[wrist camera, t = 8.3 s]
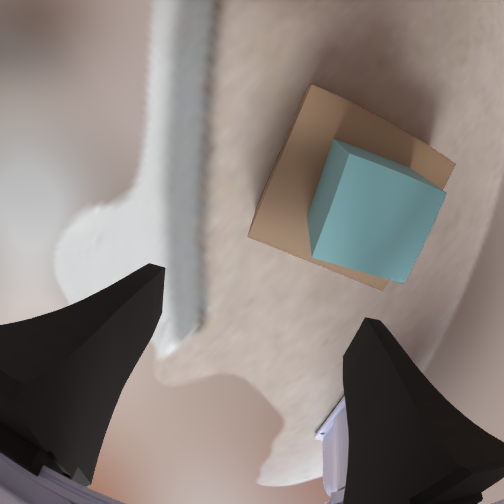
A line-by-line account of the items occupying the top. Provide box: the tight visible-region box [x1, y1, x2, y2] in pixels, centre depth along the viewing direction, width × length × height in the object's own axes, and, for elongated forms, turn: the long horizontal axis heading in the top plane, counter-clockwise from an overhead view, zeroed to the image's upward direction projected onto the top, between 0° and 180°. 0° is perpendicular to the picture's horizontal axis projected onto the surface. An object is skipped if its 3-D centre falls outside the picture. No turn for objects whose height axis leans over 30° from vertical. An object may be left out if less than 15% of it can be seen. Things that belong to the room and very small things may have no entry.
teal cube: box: [307, 139, 447, 284], centre depth 12 cm, size 4×4×4 cm
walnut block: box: [248, 84, 456, 291], centre depth 16 cm, size 8×8×4 cm
